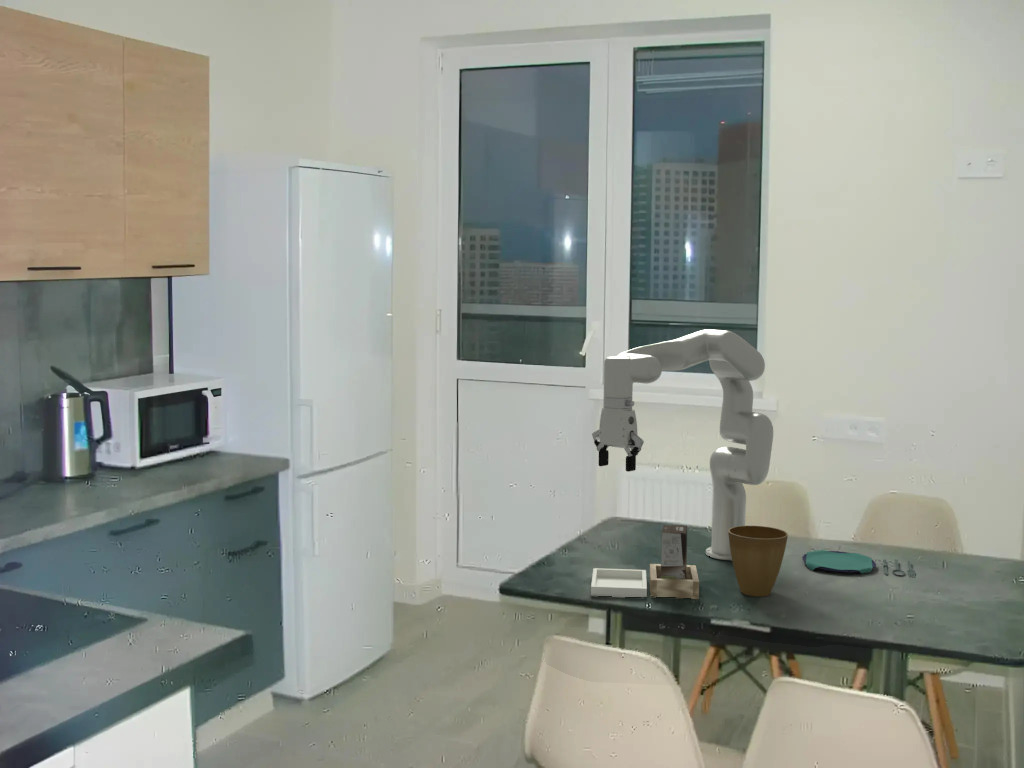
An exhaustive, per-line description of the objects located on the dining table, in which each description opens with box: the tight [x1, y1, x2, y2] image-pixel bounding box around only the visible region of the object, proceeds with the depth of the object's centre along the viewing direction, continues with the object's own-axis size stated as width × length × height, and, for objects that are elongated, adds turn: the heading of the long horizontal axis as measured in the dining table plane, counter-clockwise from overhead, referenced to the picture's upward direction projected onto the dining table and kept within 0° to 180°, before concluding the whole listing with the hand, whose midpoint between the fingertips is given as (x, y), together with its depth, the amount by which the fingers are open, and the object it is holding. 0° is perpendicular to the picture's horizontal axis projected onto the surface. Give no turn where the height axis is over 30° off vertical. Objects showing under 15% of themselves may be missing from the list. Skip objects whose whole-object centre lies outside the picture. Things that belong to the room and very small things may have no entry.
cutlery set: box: [801, 549, 916, 579], centre depth 299 cm, size 20×30×2 cm, turn 73°
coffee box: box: [660, 524, 688, 579], centre depth 276 cm, size 9×6×16 cm
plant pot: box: [728, 525, 789, 598], centre depth 274 cm, size 15×15×16 cm
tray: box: [590, 567, 648, 598], centre depth 278 cm, size 14×17×2 cm
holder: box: [649, 563, 700, 600], centre depth 277 cm, size 12×15×4 cm
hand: (616, 468), depth 281 cm, fingers open, 9 cm apart
